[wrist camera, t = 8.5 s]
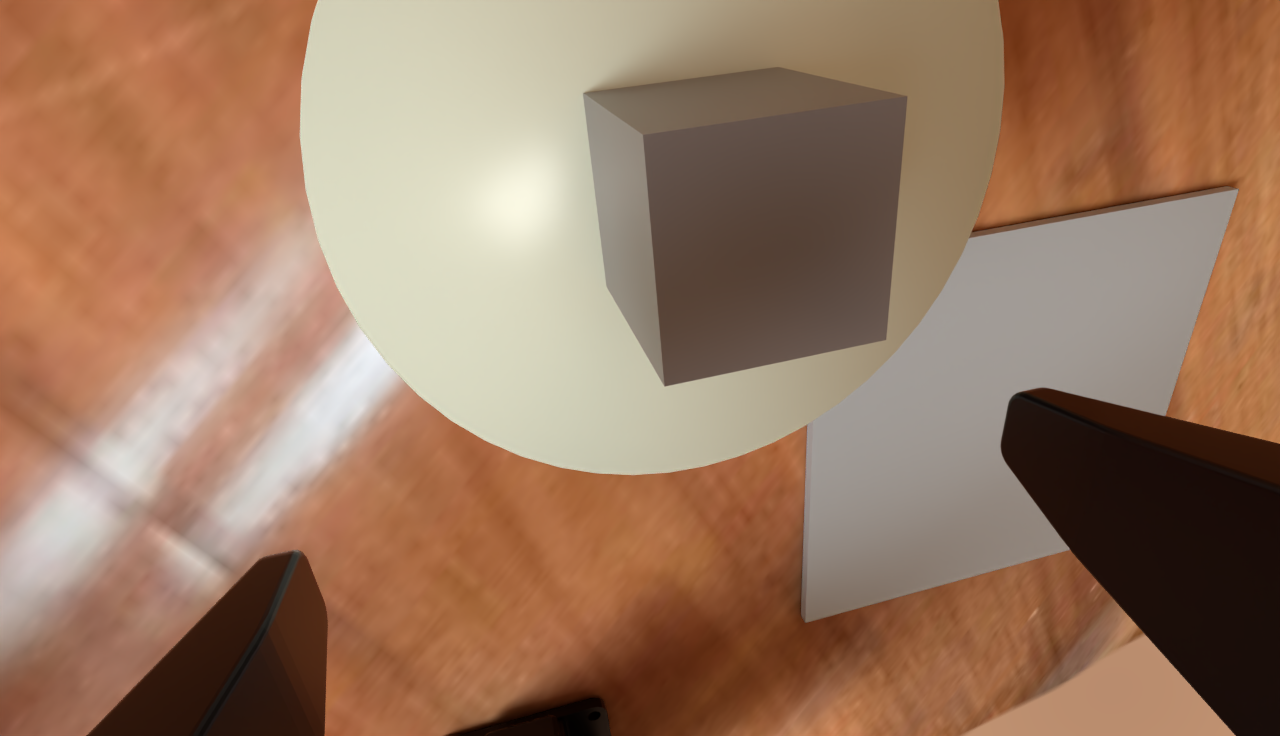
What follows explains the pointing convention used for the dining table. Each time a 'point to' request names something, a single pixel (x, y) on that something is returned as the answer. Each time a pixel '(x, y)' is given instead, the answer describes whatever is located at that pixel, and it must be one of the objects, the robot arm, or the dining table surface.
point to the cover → (645, 206)
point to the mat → (998, 394)
